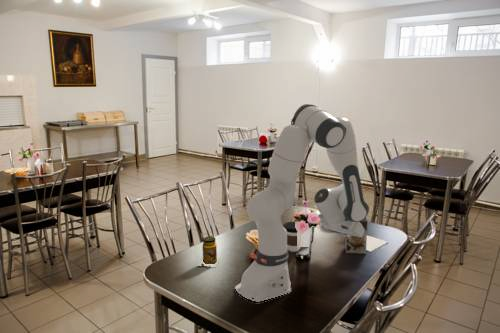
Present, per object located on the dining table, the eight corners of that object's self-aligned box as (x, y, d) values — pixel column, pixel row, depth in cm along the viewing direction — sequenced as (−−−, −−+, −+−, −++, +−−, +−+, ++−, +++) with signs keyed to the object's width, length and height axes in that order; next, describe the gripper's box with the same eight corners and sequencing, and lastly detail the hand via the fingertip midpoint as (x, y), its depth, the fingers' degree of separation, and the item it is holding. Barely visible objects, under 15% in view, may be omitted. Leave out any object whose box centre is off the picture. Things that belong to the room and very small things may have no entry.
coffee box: (346, 253, 171) (346, 220, 167) (345, 247, 177) (345, 215, 174) (366, 254, 170) (367, 221, 166) (364, 247, 176) (365, 216, 172)
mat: (370, 252, 172) (370, 251, 172) (346, 243, 182) (346, 242, 182) (388, 242, 182) (388, 242, 182) (364, 235, 192) (364, 234, 192)
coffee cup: (308, 247, 178) (309, 224, 175) (298, 256, 169) (299, 231, 166) (288, 242, 183) (289, 219, 181) (277, 250, 175) (278, 226, 172)
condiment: (216, 268, 158) (215, 241, 156) (196, 267, 159) (195, 241, 156) (219, 260, 165) (218, 235, 163) (200, 259, 166) (199, 234, 163)
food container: (317, 245, 180) (317, 225, 178) (304, 244, 181) (305, 225, 179) (313, 235, 193) (314, 217, 190) (301, 235, 193) (302, 217, 191)
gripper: (313, 218, 166) (326, 236, 174) (353, 228, 151) (364, 247, 159) (320, 207, 169) (332, 225, 176) (359, 216, 154) (370, 235, 161)
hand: (347, 235), depth 167 cm, fingers closed
